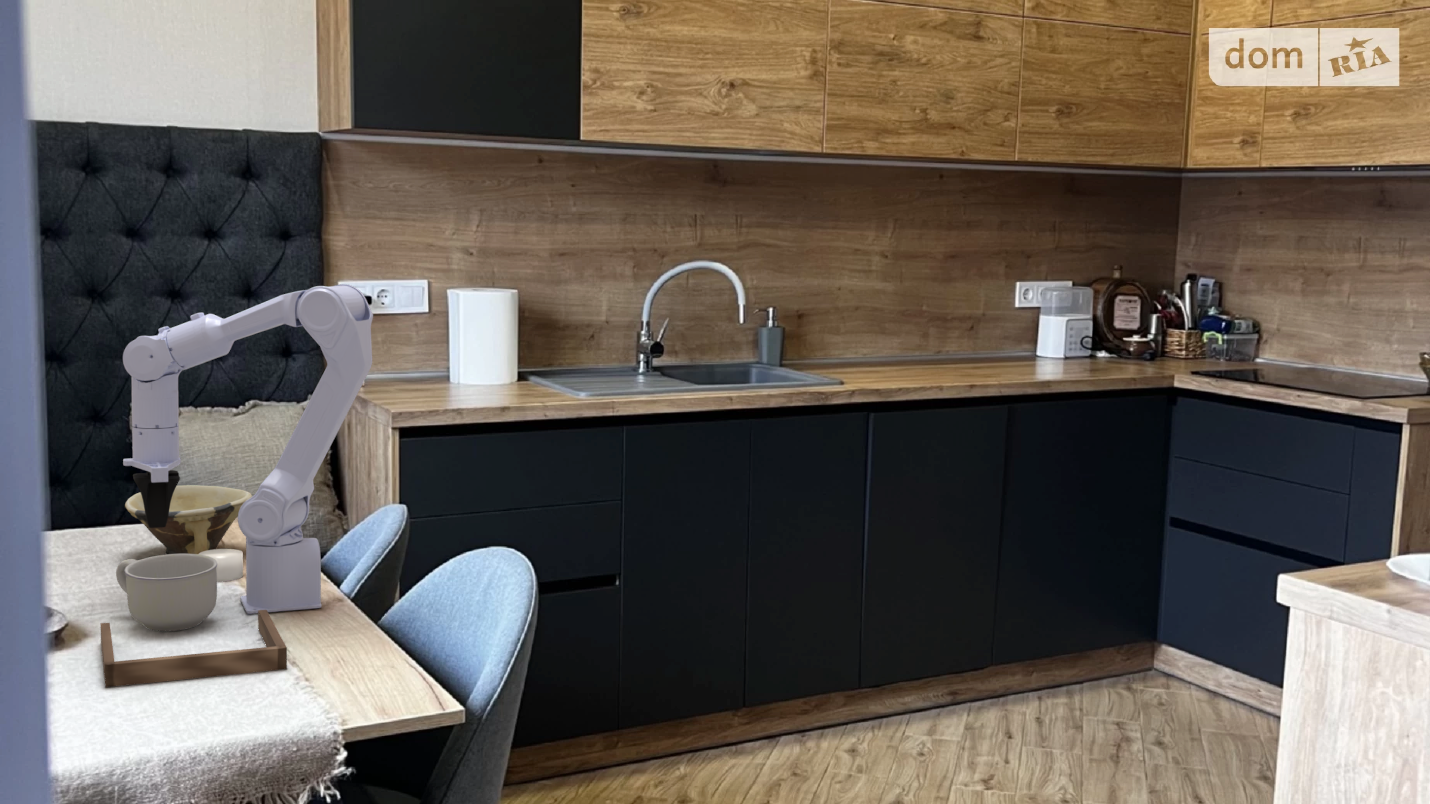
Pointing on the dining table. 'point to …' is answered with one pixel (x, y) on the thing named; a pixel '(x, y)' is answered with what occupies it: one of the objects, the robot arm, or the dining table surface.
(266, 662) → the corral
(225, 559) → the white frosted puck
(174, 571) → the teacup
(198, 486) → the bowl
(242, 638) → the dining table surface
